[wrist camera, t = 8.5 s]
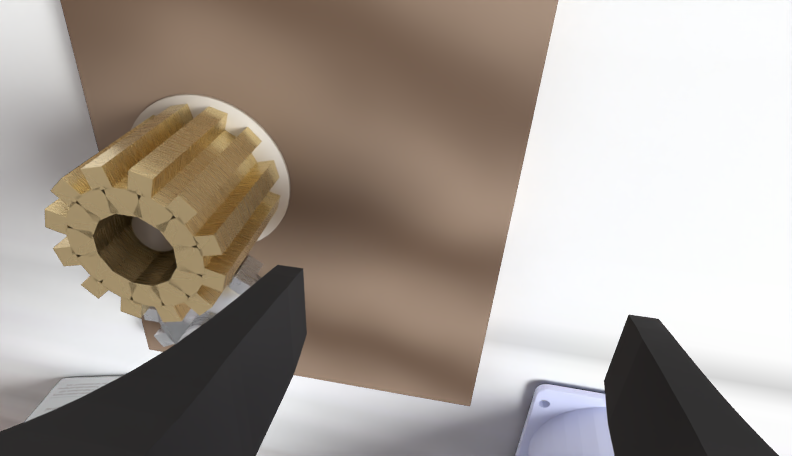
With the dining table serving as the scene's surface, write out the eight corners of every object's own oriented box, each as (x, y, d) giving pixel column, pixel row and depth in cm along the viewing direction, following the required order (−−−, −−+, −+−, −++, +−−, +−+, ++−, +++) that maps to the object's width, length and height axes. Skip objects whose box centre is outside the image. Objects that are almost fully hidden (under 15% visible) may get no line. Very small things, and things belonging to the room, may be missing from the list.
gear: (297, 363, 26) (267, 434, 23) (172, 341, 27) (125, 407, 23) (292, 257, 23) (256, 322, 19) (148, 234, 23) (89, 295, 20)
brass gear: (283, 248, 22) (233, 334, 18) (151, 227, 23) (73, 306, 19) (276, 114, 19) (212, 182, 15) (122, 95, 20) (20, 154, 15)
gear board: (471, 381, 27) (465, 485, 22) (164, 328, 29) (100, 415, 24) (554, -11, 17) (573, 32, 12) (77, -59, 19) (-61, -37, 14)
